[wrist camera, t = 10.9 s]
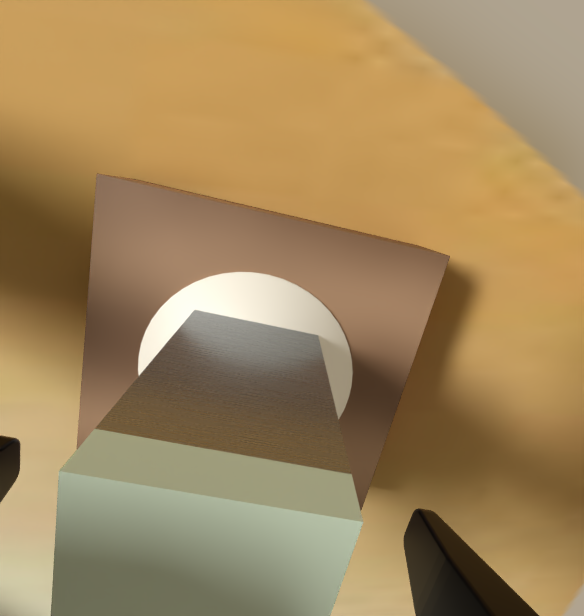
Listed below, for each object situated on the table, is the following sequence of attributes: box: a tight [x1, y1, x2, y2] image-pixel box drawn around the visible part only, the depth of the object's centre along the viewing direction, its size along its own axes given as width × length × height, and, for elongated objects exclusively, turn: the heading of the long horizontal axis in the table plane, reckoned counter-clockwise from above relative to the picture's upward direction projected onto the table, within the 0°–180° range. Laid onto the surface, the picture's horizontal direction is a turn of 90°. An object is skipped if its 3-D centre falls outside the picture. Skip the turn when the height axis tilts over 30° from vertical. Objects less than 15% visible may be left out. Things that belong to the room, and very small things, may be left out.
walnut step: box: [77, 174, 450, 511], centre depth 15 cm, size 12×12×3 cm
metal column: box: [51, 310, 363, 616], centre depth 10 cm, size 4×4×8 cm
